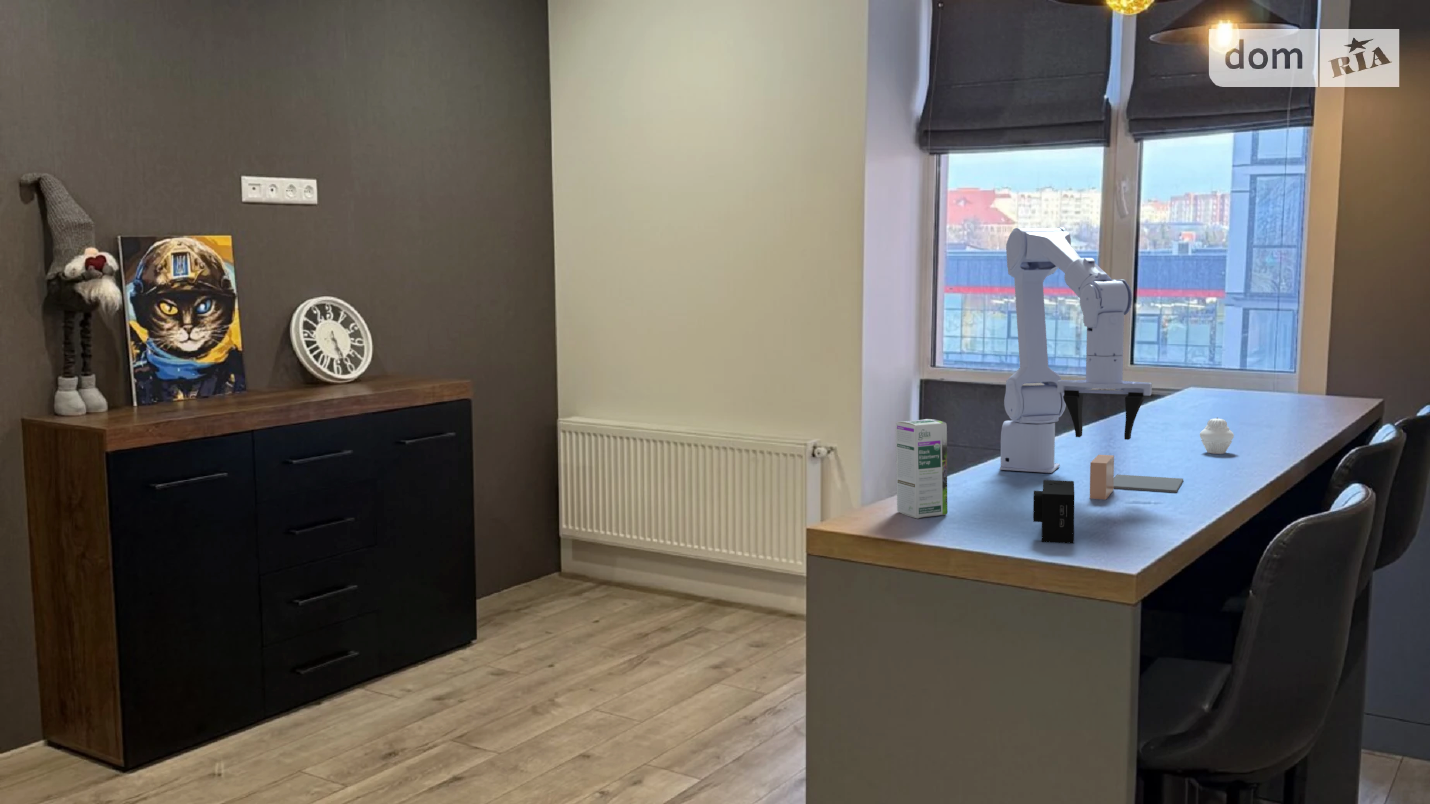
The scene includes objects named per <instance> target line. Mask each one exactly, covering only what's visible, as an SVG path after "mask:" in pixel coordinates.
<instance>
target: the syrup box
mask: <svg viewBox="0 0 1430 804" xmlns="http://www.w3.org/2000/svg"><path fill="white" fill-rule="evenodd" d="M947 427H948V426H947V423H946V422H945V421H943V420H942V421H941V420H938V419H934V418H933V419H931V418H925V419H918V420H917V419H916V420H905V421H896V422H895V446H896V447H895V448H896V449H895V451H896V453H895V455H896V456H895V458H896V461H895V462H896V505H897V506H896V511H897V512H898V513H900V514H902V515H905V516H907V517H910V518H914V519H922V518H928V517H935V516H936V517H937V516H946V515H948V434H947V433H948V431H947V430H948V429H947Z"/></svg>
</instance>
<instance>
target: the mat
mask: <svg viewBox="0 0 1430 804" xmlns="http://www.w3.org/2000/svg"><path fill="white" fill-rule="evenodd" d="M1183 483H1184V478H1181V477H1180V478H1178V477H1163V476H1148V475H1147V476H1146V475H1134V474H1133V475H1132V474H1119V473H1118V474H1116V475H1115V476H1114V485H1113V490H1114V489H1115V490H1116V489H1117V490H1128V491H1129V490H1131V491H1132V490H1133V491H1146V492H1148V491H1149V492H1161V493H1174V494H1175V493H1178V491H1179V489H1180V487H1181V485H1182V484H1183Z"/></svg>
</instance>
